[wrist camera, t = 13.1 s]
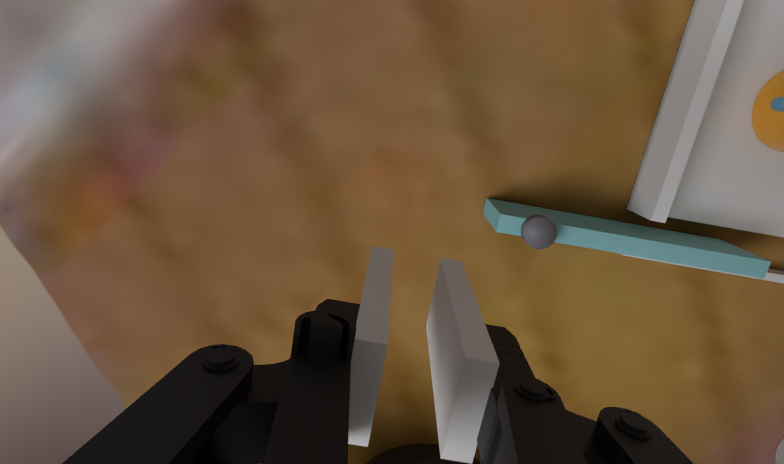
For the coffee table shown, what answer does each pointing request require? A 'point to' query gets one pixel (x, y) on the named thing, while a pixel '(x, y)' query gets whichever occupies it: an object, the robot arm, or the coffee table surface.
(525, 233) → the gate
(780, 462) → the coffee cup
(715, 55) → the white square tray
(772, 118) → the orange tube with rings
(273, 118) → the coffee table surface
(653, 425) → the robot arm
